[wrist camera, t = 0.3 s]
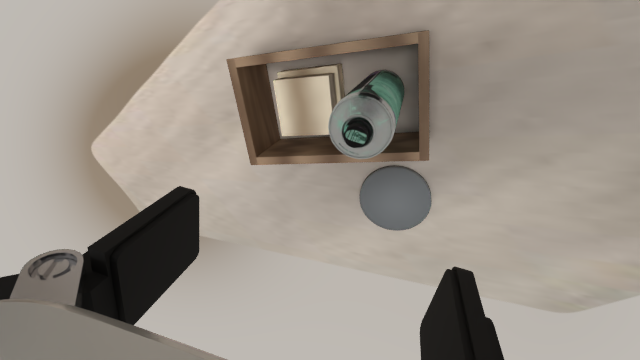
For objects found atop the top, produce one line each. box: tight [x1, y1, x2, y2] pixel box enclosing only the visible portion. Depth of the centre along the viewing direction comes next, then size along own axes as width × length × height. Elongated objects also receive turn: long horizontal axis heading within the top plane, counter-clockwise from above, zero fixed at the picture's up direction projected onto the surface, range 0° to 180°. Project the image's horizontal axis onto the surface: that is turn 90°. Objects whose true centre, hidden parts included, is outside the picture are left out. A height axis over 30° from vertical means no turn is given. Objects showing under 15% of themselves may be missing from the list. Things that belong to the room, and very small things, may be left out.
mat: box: [360, 166, 431, 230], centre depth 46 cm, size 10×10×1 cm
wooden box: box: [227, 30, 429, 165], centre depth 39 cm, size 22×13×8 cm, turn 98°
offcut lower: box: [277, 64, 345, 103], centre depth 43 cm, size 8×8×3 cm
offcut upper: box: [273, 73, 337, 136], centre depth 40 cm, size 7×7×3 cm
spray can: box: [328, 70, 404, 159], centre depth 32 cm, size 6×6×20 cm
